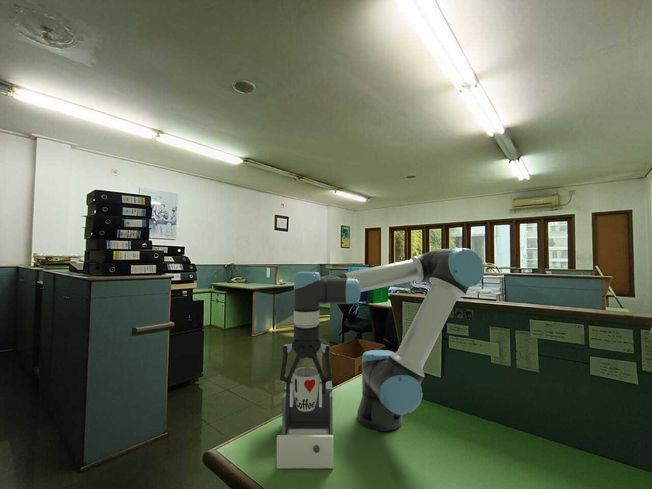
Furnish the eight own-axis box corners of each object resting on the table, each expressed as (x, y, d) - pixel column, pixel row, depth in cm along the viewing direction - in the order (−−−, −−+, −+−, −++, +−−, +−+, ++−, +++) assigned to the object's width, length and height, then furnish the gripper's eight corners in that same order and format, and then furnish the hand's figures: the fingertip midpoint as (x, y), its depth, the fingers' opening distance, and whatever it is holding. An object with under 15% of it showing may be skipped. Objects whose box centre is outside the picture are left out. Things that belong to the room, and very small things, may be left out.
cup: (288, 412, 85) (288, 375, 86) (296, 399, 93) (296, 365, 93) (316, 415, 83) (316, 378, 84) (322, 402, 91) (322, 368, 92)
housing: (287, 422, 104) (287, 377, 104) (331, 422, 104) (331, 377, 104) (281, 447, 90) (281, 395, 91) (332, 447, 90) (332, 395, 91)
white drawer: (283, 437, 95) (284, 410, 95) (332, 437, 95) (332, 410, 95) (276, 469, 80) (276, 438, 80) (333, 469, 80) (333, 438, 81)
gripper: (341, 322, 93) (340, 399, 92) (273, 322, 93) (272, 398, 92) (342, 328, 86) (342, 411, 85) (269, 327, 86) (268, 411, 85)
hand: (306, 404), depth 88 cm, fingers closed on cup, 8 cm apart
